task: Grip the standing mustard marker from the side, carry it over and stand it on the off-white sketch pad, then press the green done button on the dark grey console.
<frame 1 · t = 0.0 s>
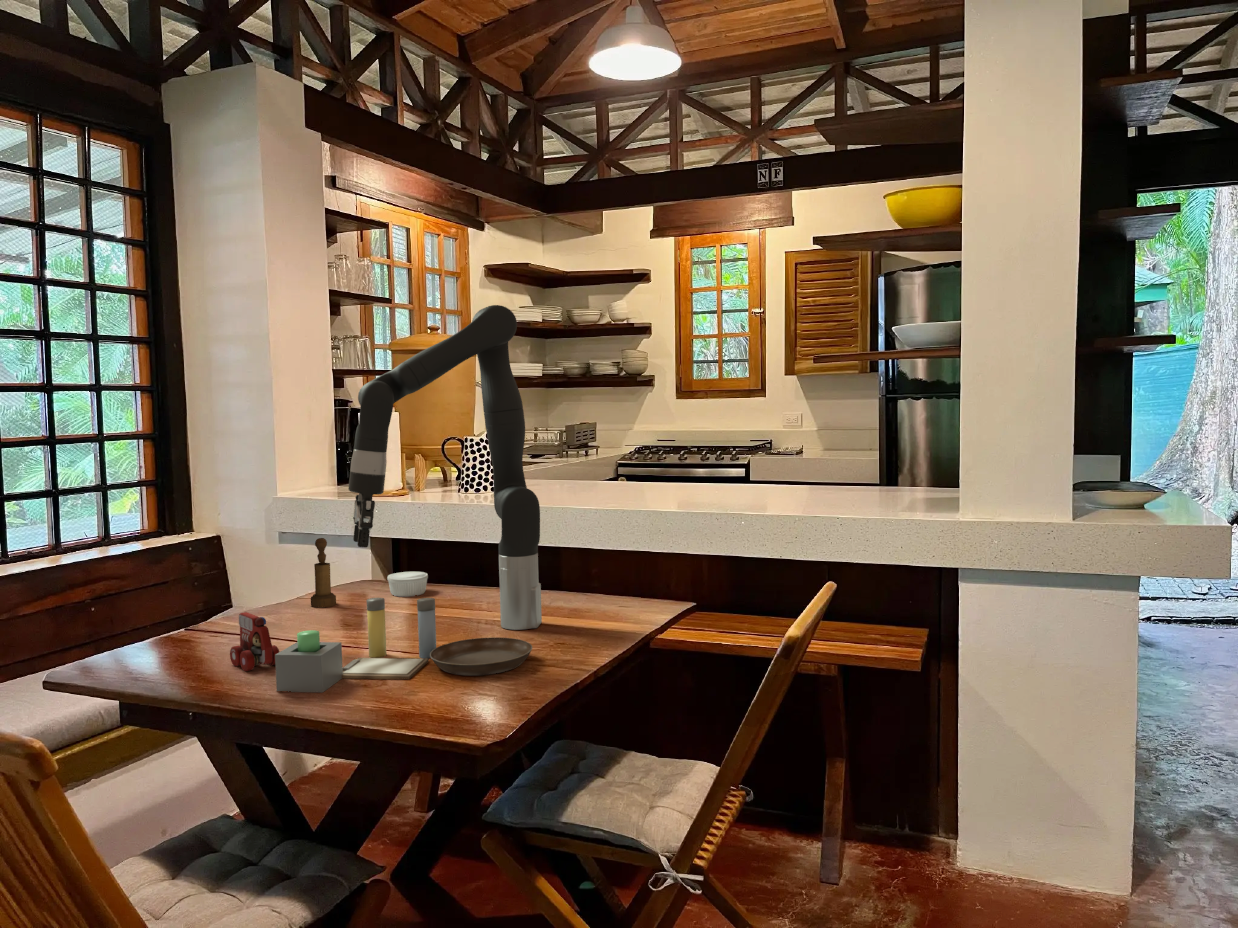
hand: (360, 544, 200), 22 cm above the table, tool pointing down, fingers open, 8 cm apart
done button: (308, 643, 172), point 8 cm above the table, slide at 0.0 cm
marker mustard: (377, 655, 192), on the table
console: (310, 684, 173), on the table
ramekin: (408, 594, 254), on the table
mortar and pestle: (323, 605, 242), on the table
plant saucer: (482, 665, 184), on the table
toy fire truck: (255, 666, 187), on the table
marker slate: (428, 655, 191), on the table
sketch pad: (382, 669, 182), on the table
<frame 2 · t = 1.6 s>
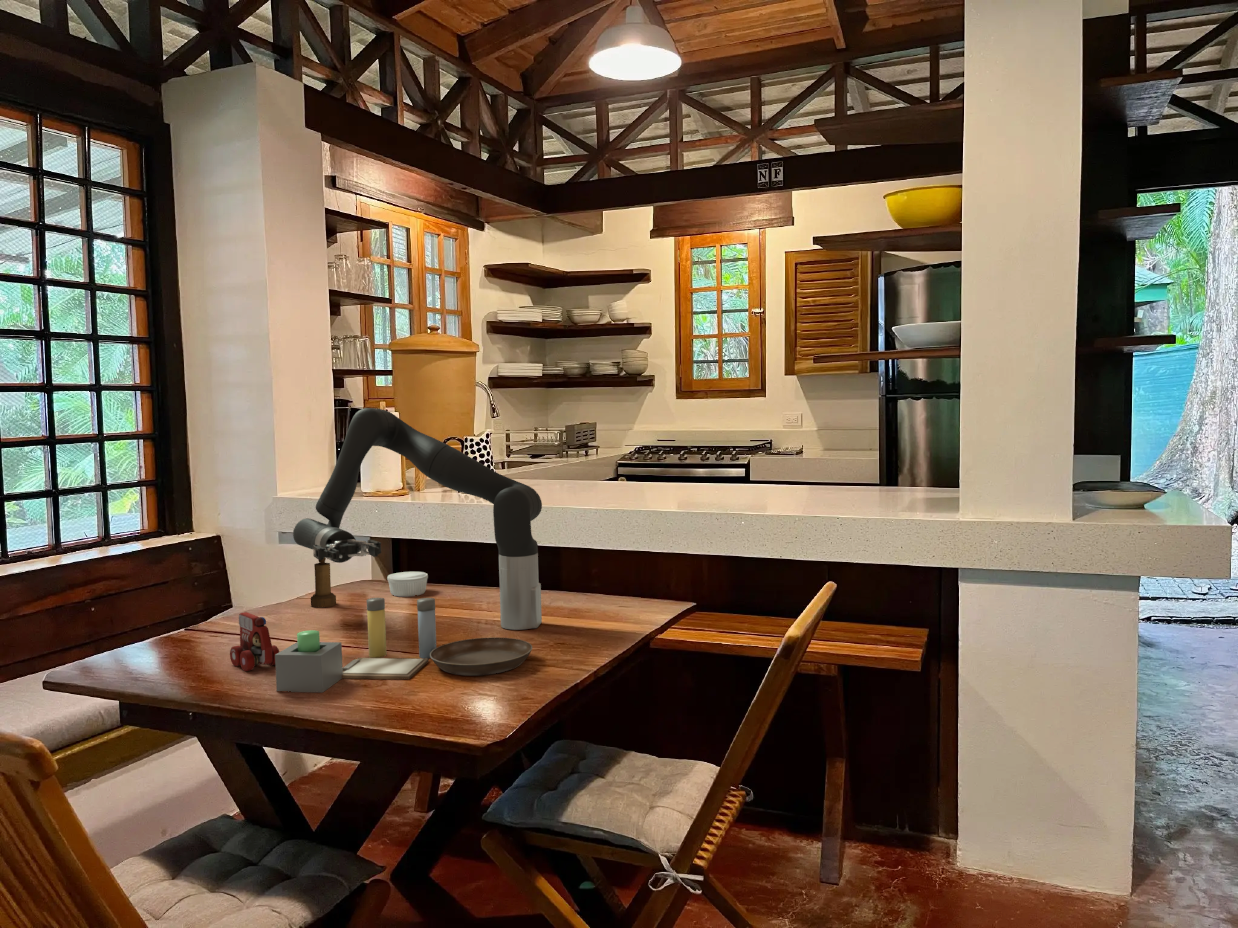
hand: (357, 554, 200), 20 cm above the table, tool horizontal, fingers open, 8 cm apart
nothing on the table moved.
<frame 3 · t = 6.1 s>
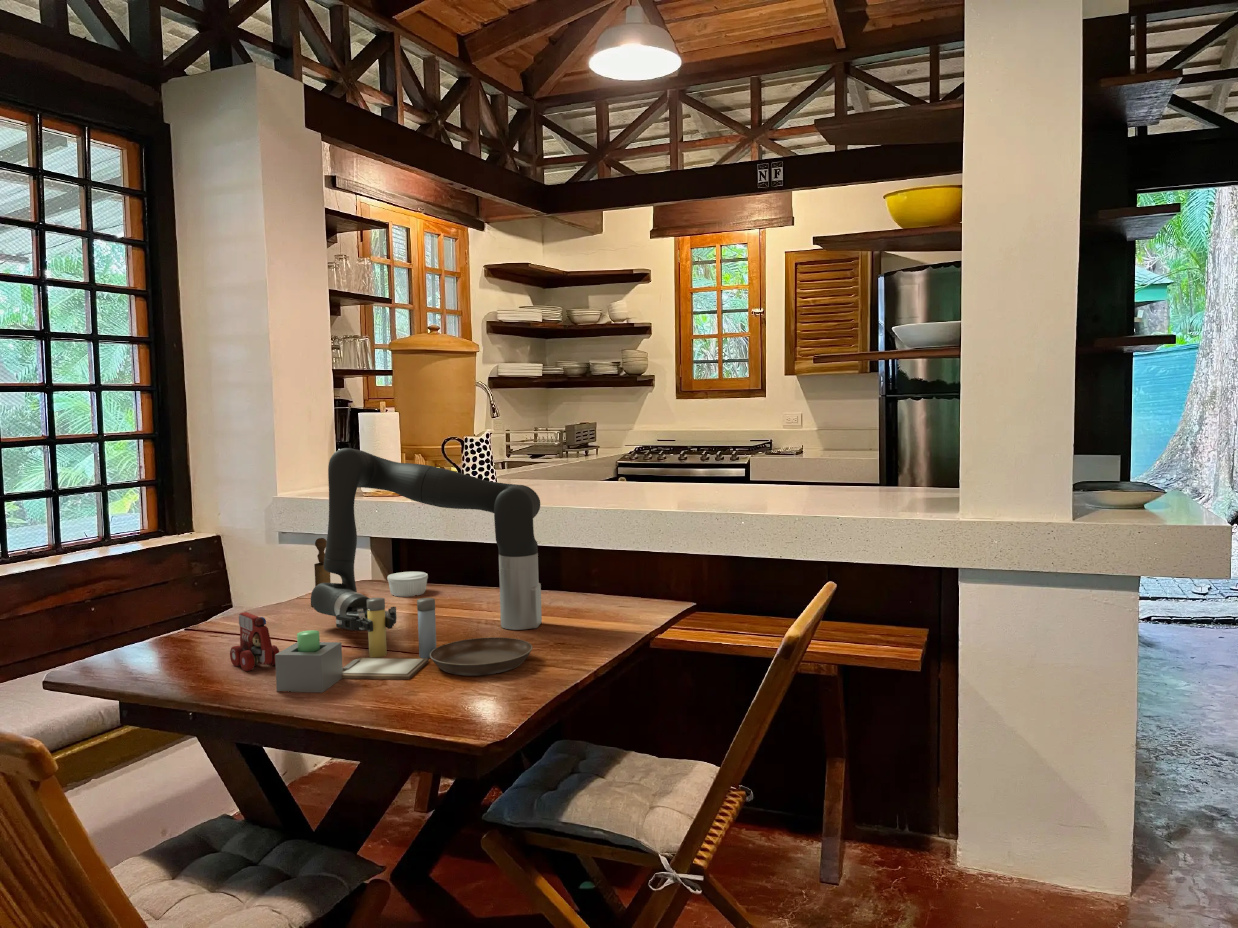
hand: (381, 625, 189), 7 cm above the table, tool horizontal, fingers closed on marker mustard, 3 cm apart
marker mustard: (377, 655, 192), on the table, touching gripper
everything else where it was.
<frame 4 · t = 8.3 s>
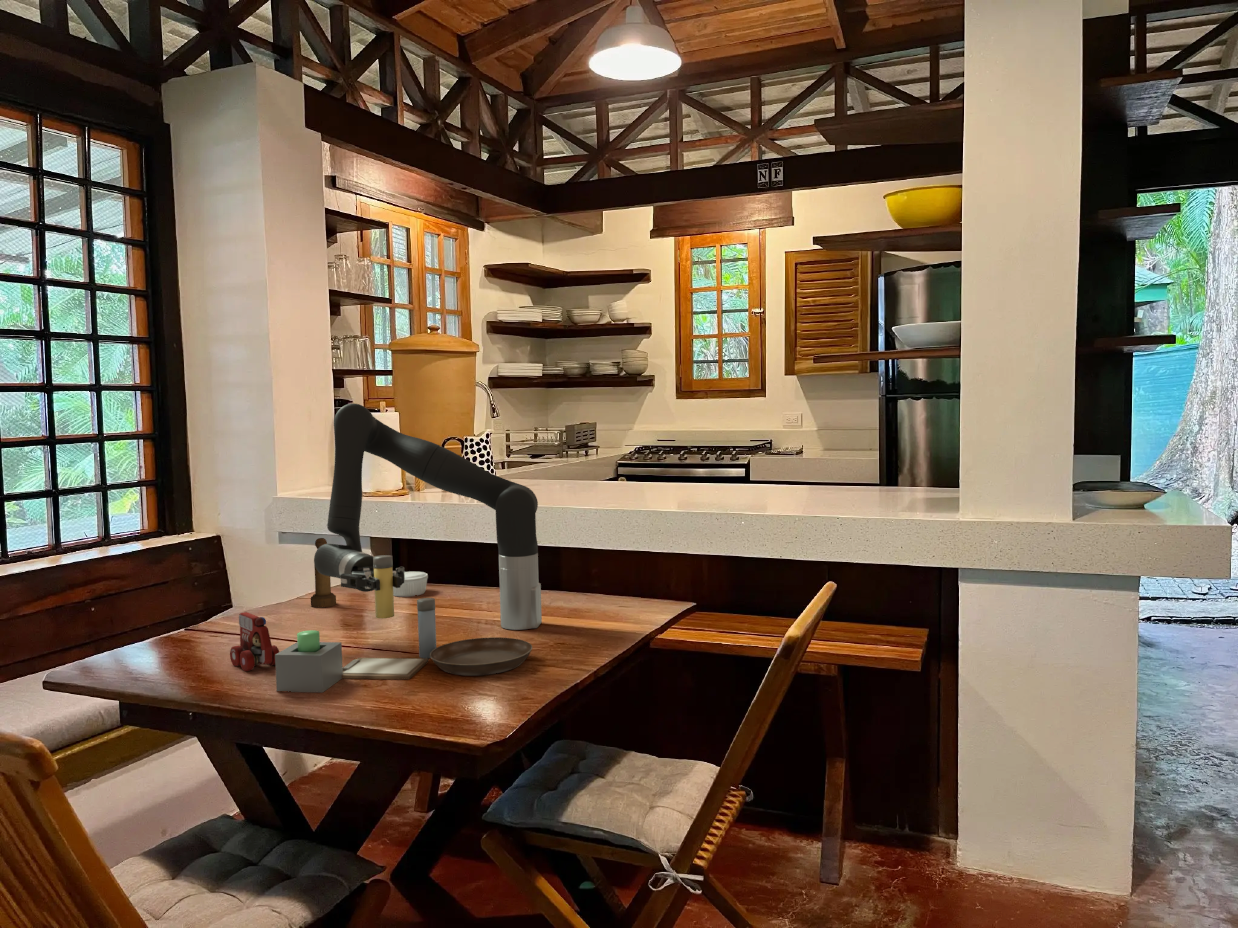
hand: (388, 583, 178), 18 cm above the table, tool horizontal, fingers closed on marker mustard, 3 cm apart
marker mustard: (384, 616, 181), point 11 cm above the table, touching gripper
everything else where it was.
when the fingers open (9 cm above the table, at t = 10.3 s): marker mustard stays where it is, resting on sketch pad.
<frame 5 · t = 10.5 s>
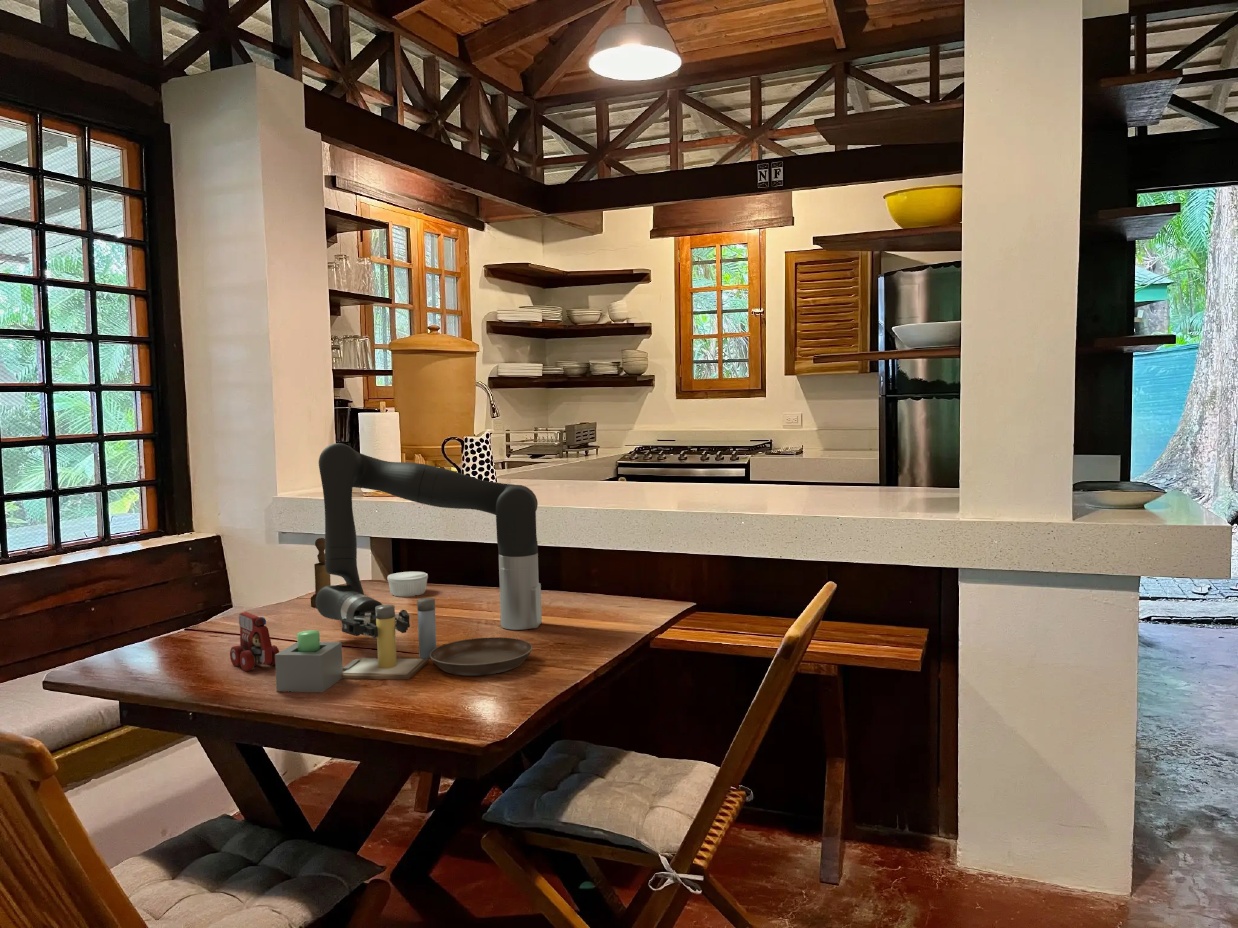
hand: (390, 629, 179), 9 cm above the table, tool horizontal, fingers open, 5 cm apart
marker mustard: (387, 665, 182), point 1 cm above the table, touching sketch pad
everything else where it was.
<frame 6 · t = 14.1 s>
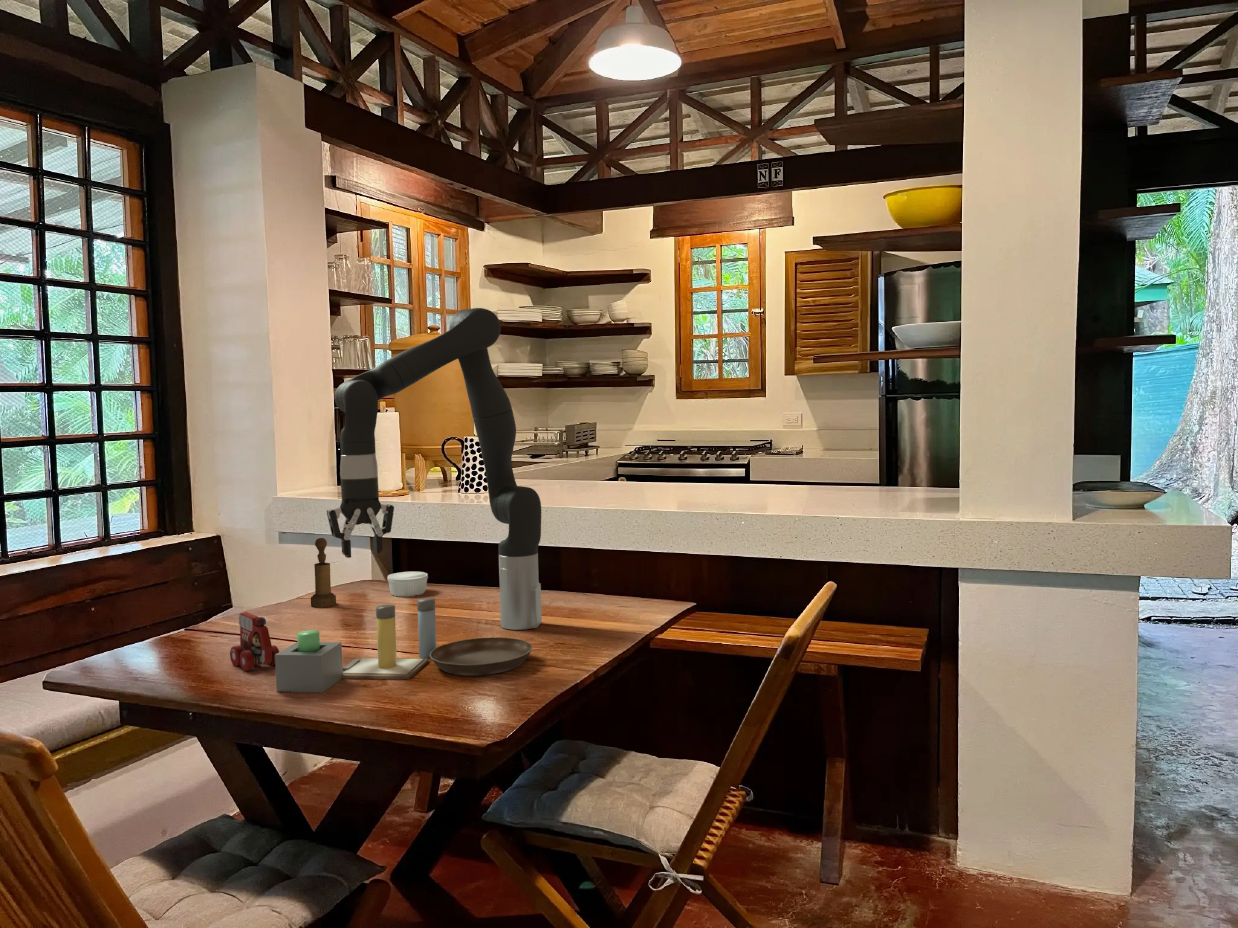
hand: (362, 555, 191), 21 cm above the table, tool pointing down, fingers open, 5 cm apart
nothing on the table moved.
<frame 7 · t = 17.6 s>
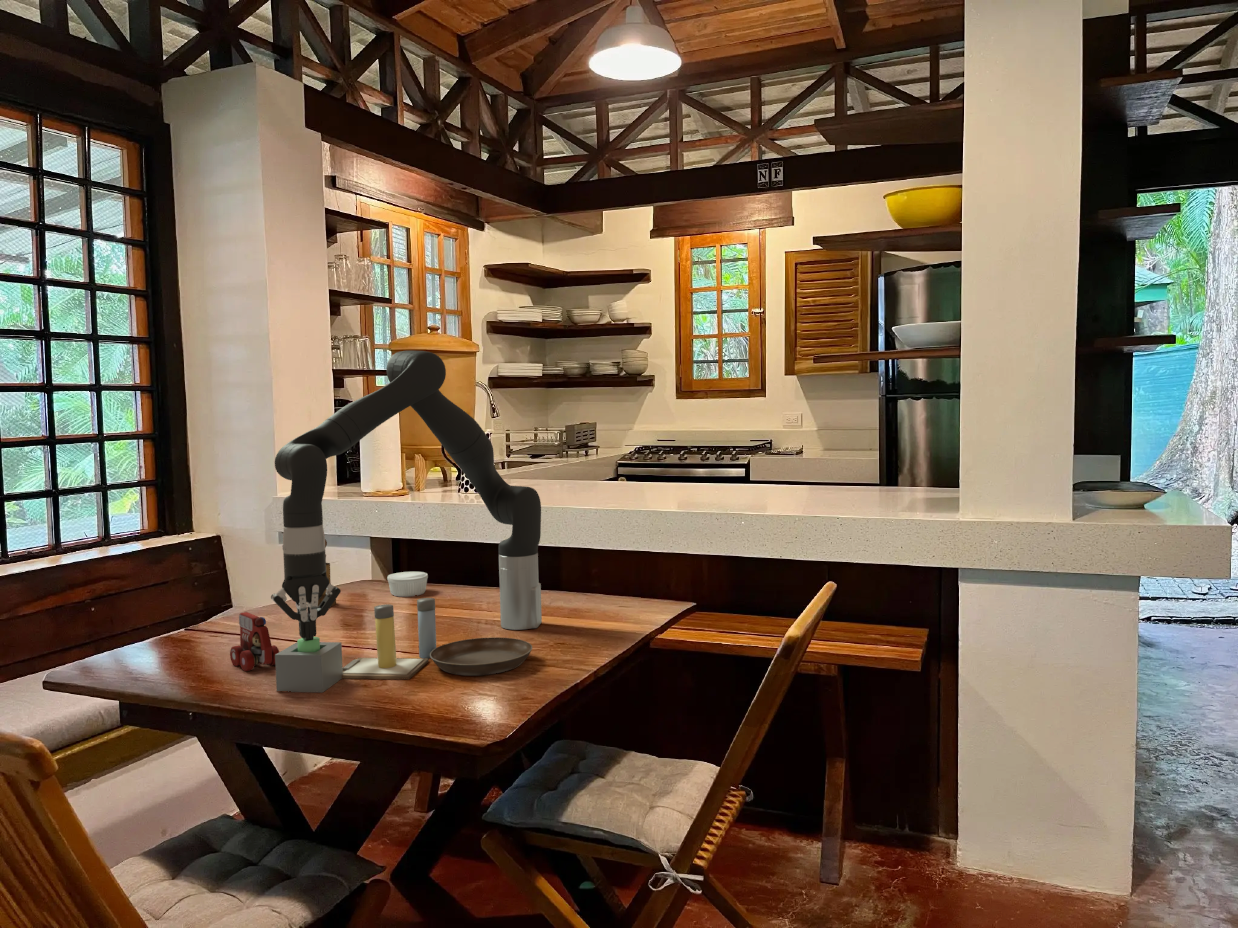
hand: (308, 639, 172), 9 cm above the table, tool pointing down, fingers closed
done button: (309, 649, 172), point 7 cm above the table, slide at 1.3 cm, touching gripper
everything else where it was.
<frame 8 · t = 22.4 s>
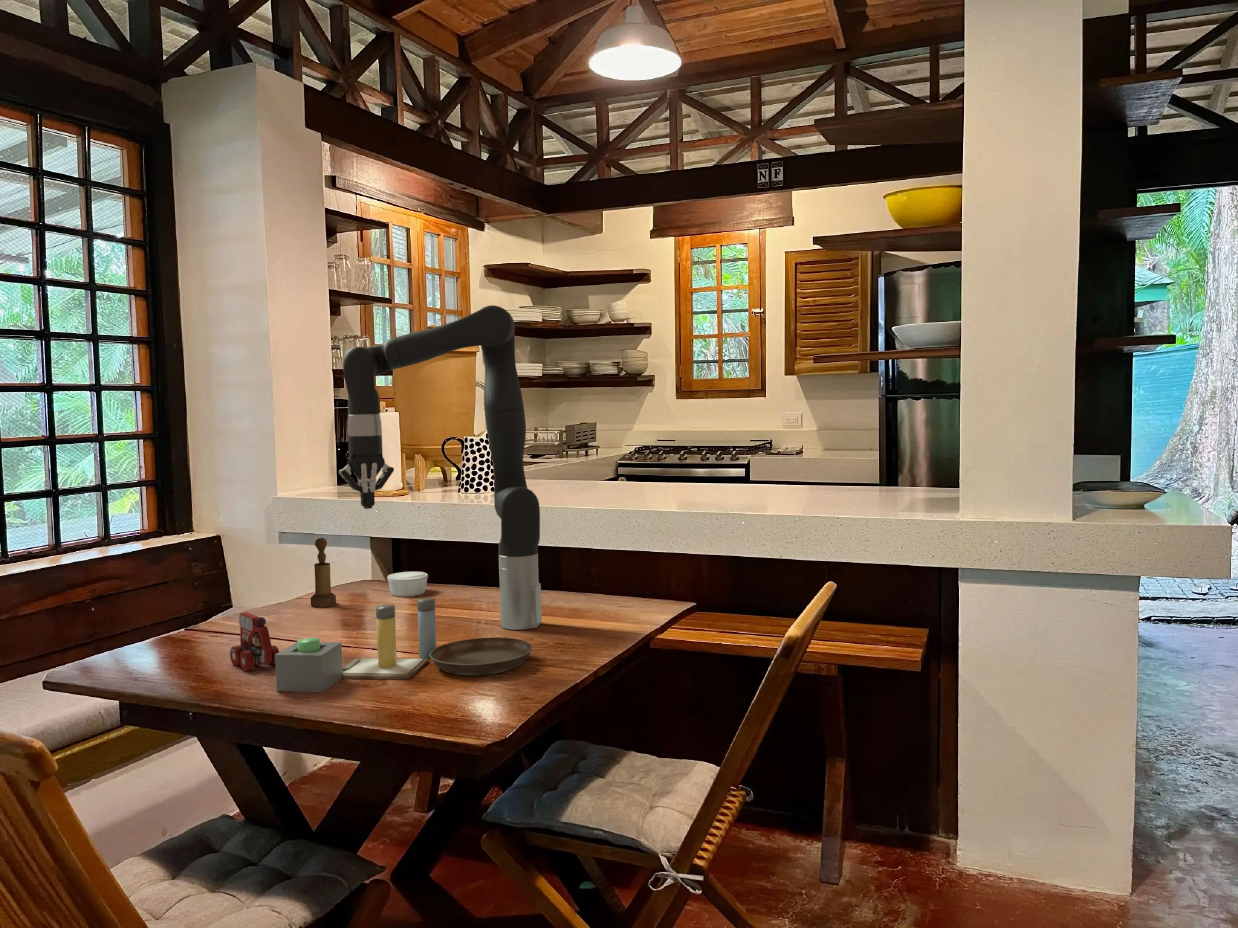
hand: (368, 508, 211), 29 cm above the table, tool pointing down, fingers closed
done button: (309, 650, 172), point 7 cm above the table, slide at 1.5 cm
everything else where it was.
at the end: marker mustard inside the target area (1.0 cm from its centre), point 0.8 cm above the table; marker mustard tilted 1°; done button slide at 1.5 cm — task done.
